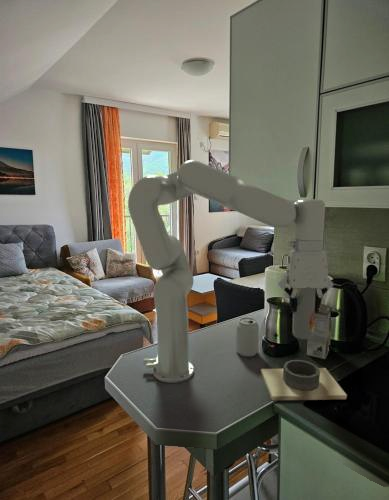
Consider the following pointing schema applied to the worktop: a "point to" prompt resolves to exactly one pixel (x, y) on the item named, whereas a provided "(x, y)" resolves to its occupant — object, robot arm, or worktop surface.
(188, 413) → the worktop surface
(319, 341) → the coffee box
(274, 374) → the bottle holder
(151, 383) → the worktop surface
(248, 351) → the can
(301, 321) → the lotion bottle
